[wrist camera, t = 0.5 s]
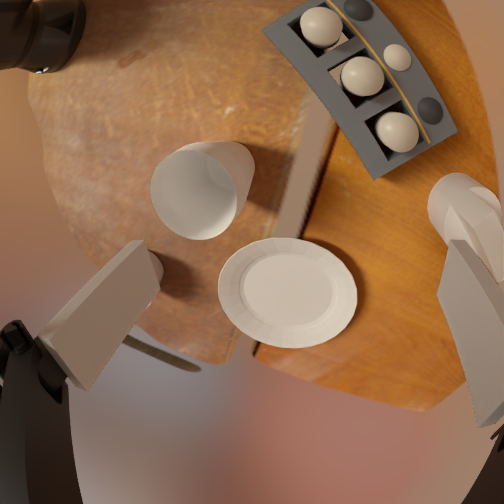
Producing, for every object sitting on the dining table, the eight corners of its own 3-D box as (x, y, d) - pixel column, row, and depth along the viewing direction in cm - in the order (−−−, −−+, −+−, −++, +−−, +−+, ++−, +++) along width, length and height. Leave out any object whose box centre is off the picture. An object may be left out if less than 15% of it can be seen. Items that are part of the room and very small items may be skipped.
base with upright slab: (489, 209, 28) (534, 253, 18) (446, 247, 33) (478, 300, 23) (462, 158, 27) (512, 188, 17) (415, 200, 31) (449, 245, 21)
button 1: (294, 28, 23) (291, 19, 20) (323, 11, 21) (324, 0, 18) (318, 55, 24) (318, 48, 21) (347, 38, 22) (351, 29, 19)
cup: (255, 124, 32) (223, 136, 21) (271, 193, 36) (250, 235, 26) (188, 141, 34) (136, 162, 24) (207, 203, 38) (166, 246, 28)
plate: (241, 339, 51) (238, 348, 49) (205, 238, 42) (199, 246, 40) (356, 335, 45) (357, 345, 43) (352, 222, 35) (353, 229, 33)
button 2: (332, 72, 25) (334, 68, 21) (361, 55, 23) (367, 49, 20) (354, 102, 26) (359, 102, 23) (383, 85, 24) (392, 84, 21)
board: (267, 37, 26) (261, 29, 22) (348, -9, 20) (351, -22, 16) (368, 171, 31) (374, 181, 28) (444, 127, 26) (458, 131, 22)
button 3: (367, 121, 26) (373, 124, 23) (396, 105, 25) (405, 106, 21) (386, 152, 28) (394, 159, 24) (414, 136, 26) (425, 141, 22)
